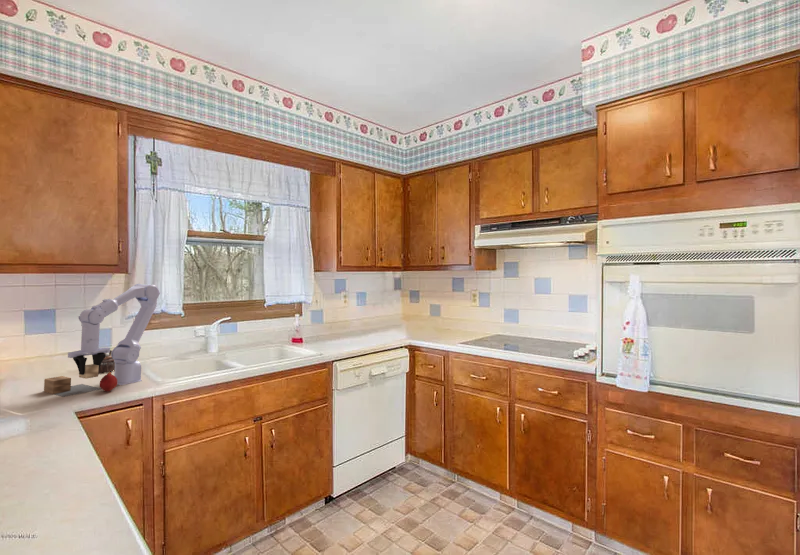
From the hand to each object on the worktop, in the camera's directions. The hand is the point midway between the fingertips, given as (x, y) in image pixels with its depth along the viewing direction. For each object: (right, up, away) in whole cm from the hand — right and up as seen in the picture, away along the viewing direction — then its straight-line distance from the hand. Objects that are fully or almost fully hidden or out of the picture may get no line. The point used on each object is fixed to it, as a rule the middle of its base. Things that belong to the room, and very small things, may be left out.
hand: (88, 373), depth 166 cm
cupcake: (-17, -7, +34) cm, 38 cm away
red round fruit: (+8, -8, -1) cm, 11 cm away
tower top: (-9, -4, -4) cm, 11 cm away
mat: (-5, -7, -1) cm, 9 cm away
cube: (0, -2, 0) cm, 2 cm away
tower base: (-10, -6, -4) cm, 12 cm away
